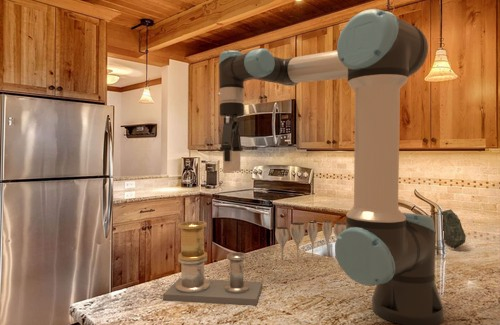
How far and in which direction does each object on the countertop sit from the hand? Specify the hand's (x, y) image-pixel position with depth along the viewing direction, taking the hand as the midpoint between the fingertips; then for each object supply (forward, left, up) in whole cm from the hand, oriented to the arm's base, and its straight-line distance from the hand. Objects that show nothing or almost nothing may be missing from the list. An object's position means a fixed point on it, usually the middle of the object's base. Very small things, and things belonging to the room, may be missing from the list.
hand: (232, 172), depth 109 cm
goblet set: (-25, -18, -32) cm, 45 cm away
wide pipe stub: (+8, +16, -30) cm, 35 cm away
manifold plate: (+2, +16, -32) cm, 36 cm away
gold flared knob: (+8, +16, -22) cm, 29 cm away
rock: (-79, -44, -32) cm, 96 cm away
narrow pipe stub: (-4, +16, -30) cm, 35 cm away
